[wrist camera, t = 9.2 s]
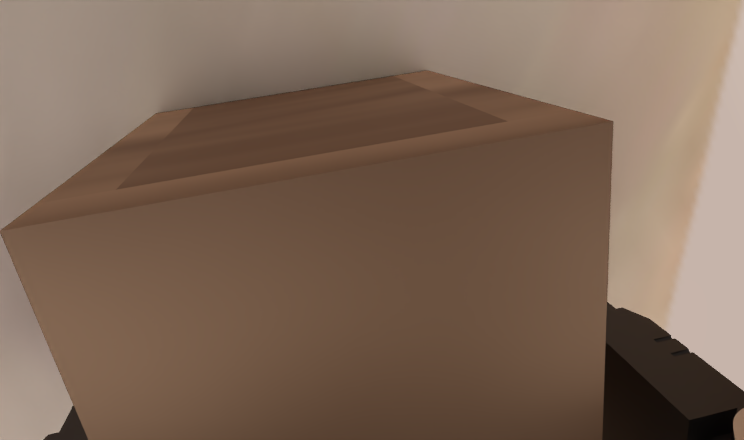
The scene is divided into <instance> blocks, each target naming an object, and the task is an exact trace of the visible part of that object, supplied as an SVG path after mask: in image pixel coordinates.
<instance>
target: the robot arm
mask: <svg viewBox="0 0 744 440" xmlns="http://www.w3.org/2000/svg"><path fill="white" fill-rule="evenodd" d="M44 440H88V438H87V435H86V433H85V431H84V428H83V426H82V424H81V421H80V419H79V417H78V414H77V412H76V410H75V407H74V405H73V407H72V409H71V411H70V413H69V415H68V417H67V419H66V421H65V423H64V425H63V426H62V428H61V430H60V432H59V433H54V434H50V435H48V436H47V437H46V438H45V439H44ZM602 440H744V391H743V390H741V389H740V388H739V387H737V386H736V385H735V384H733V383H732V382H731V381H730V380H728V379H727V378H726V377H724V376H723V375H722V374H720V373H719V372H718V371H717V370H715V369H714V368H712V367H711V366H710V365H708V364H707V363H706V362H705V361H704V360H702V359H701V358H700V357H698V356H697V355H696V354H694V353H690V352H689V350H688V348H687V347H685V346H684V345H683V344H681V343H680V342H679V341H677V340H676V339H672V338H671V335H670V334H668V333H667V332H666V331H665V330H663V329H662V328H661V327H659V326H658V325H657V324H655V323H654V322H653V321H652V320H650V319H648V318H646V317H643V316H641V315H639V314H636V313H634V312H631V311H629V310H627V309H624V308H618V309H615V308H614V307H613V306H612V305H610V304H609V303H608V302H607V316H606V345H605V374H604V403H603V432H602Z"/></svg>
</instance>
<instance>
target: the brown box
mask: <svg viewBox="0 0 744 440" xmlns="http://www.w3.org/2000/svg"><path fill="white" fill-rule="evenodd" d="M612 141H613V121H610V120H606V119H603V118H599V117H595V116H592V115H588V114H584V113H581V112H577V111H573V110H570V109H566V108H562V107H559V106H555V105H551V104H548V103H544V102H541V101H537V100H533V99H530V98H526V97H522V96H519V95H515V94H511V93H508V92H504V91H500V90H497V89H493V88H489V87H486V86H482V85H478V84H475V83H471V82H468V81H464V80H460V79H457V78H453V77H449V76H446V75H442V74H438V73H435V72H431V71H420V72H414V73H408V74H402V75H395V76H389V77H383V78H376V79H370V80H364V81H358V82H351V83H345V84H339V85H332V86H326V87H320V88H313V89H307V90H301V91H295V92H288V93H282V94H276V95H269V96H263V97H257V98H251V99H244V100H238V101H232V102H225V103H219V104H213V105H207V106H200V107H194V108H188V109H181V110H175V111H169V112H162V113H156V114H155V115H153V116H152V117H151V118H149V119H148V120H147V121H145V122H144V123H143V124H141V125H140V126H139V127H137V128H136V129H135V130H133V131H132V132H131V133H129V134H128V135H127V136H125V137H124V138H123V139H121V140H120V141H119V142H117V143H116V144H115V145H113V146H112V147H111V148H109V149H108V150H107V151H105V152H104V153H103V154H101V155H100V156H99V157H97V158H96V159H95V160H93V161H92V162H91V163H89V164H88V165H87V166H86V167H84V168H83V169H82V170H80V171H79V172H78V173H76V174H75V175H74V176H72V177H71V178H70V179H68V180H67V181H66V182H64V183H63V184H62V185H60V186H59V187H58V188H56V189H55V190H54V191H52V192H51V193H50V194H48V195H47V196H46V197H44V198H43V199H42V200H40V201H39V202H38V203H36V204H35V205H34V206H32V207H31V208H30V209H28V210H27V211H26V212H24V213H23V214H22V215H20V216H19V217H18V218H16V219H15V220H14V221H12V222H11V223H10V224H8V225H7V226H6V227H4V228H3V229H2V230H1V231H0V233H1V236H2V238H3V240H4V243H5V245H6V247H7V250H8V252H9V254H10V257H11V259H12V261H13V264H14V266H15V268H16V271H17V273H18V275H19V278H20V280H21V283H22V285H23V287H24V290H25V292H26V294H27V297H28V299H29V301H30V304H31V306H32V308H33V311H34V313H35V315H36V318H37V320H38V323H39V325H40V327H41V330H42V332H43V334H44V337H45V339H46V341H47V344H48V346H49V348H50V351H51V353H52V355H53V358H54V360H55V362H56V365H57V367H58V370H59V372H60V374H61V377H62V379H63V381H64V384H65V386H66V388H67V391H68V393H69V395H70V398H71V400H72V402H73V405H74V407H75V410H76V412H77V414H78V417H79V419H80V421H81V424H82V426H83V428H84V431H85V433H86V435H87V438H88V440H602V432H603V403H604V374H605V345H606V316H607V287H608V258H609V229H610V199H611V170H612Z"/></svg>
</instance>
